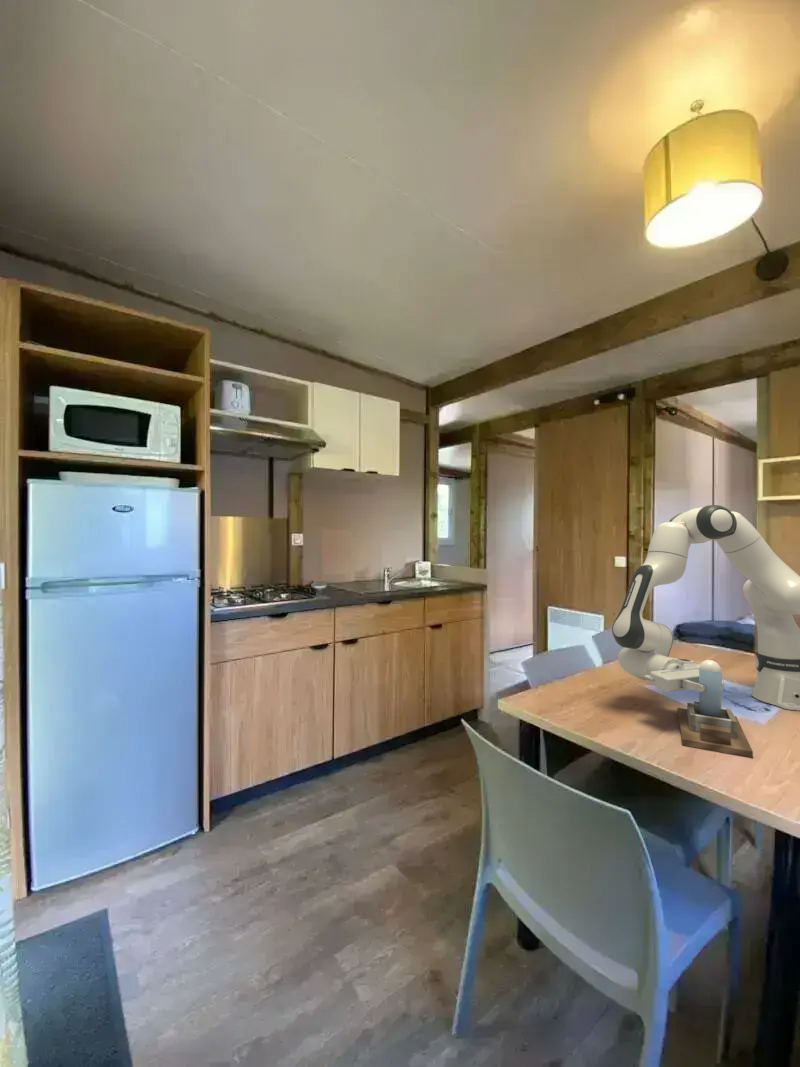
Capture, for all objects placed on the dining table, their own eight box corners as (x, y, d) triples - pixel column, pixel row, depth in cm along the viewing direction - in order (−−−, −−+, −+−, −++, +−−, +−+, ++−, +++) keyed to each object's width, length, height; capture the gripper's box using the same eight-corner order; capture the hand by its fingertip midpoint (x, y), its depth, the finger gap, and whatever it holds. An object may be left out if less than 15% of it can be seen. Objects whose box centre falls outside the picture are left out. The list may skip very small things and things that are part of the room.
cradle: (736, 721, 129) (736, 701, 129) (752, 758, 108) (752, 734, 108) (677, 712, 135) (677, 693, 135) (682, 745, 114) (682, 722, 114)
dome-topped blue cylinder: (719, 717, 122) (719, 659, 123) (722, 723, 118) (722, 663, 118) (698, 714, 125) (698, 657, 125) (700, 720, 121) (699, 661, 121)
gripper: (639, 664, 131) (682, 679, 118) (694, 659, 137) (741, 672, 124) (639, 687, 131) (682, 704, 118) (694, 680, 137) (741, 695, 124)
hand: (713, 687), depth 121 cm, fingers closed on dome-topped blue cylinder, 5 cm apart
